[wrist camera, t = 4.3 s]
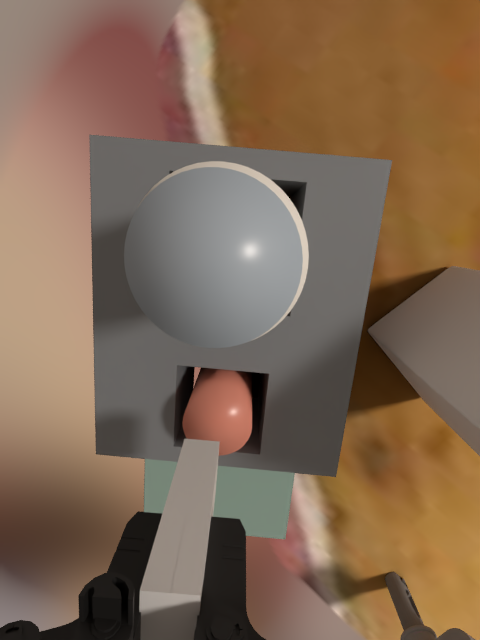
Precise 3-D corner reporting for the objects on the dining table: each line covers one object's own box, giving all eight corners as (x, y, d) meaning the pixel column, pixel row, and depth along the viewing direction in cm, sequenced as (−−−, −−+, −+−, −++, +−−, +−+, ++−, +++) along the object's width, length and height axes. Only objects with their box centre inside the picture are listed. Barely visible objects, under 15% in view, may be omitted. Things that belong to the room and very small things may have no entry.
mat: (144, 521, 30) (143, 525, 30) (146, 428, 28) (145, 431, 28) (284, 535, 30) (285, 539, 30) (297, 442, 28) (298, 445, 27)
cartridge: (199, 275, 25) (112, 349, 9) (203, 200, 24) (111, 144, 8) (270, 281, 25) (301, 367, 9) (278, 207, 24) (329, 162, 8)
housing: (134, 398, 27) (96, 454, 21) (137, 162, 23) (89, 134, 16) (314, 415, 27) (335, 476, 20) (350, 180, 23) (392, 160, 16)
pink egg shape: (200, 389, 26) (181, 452, 19) (203, 343, 25) (184, 389, 18) (249, 394, 26) (248, 458, 19) (254, 348, 25) (255, 396, 18)
